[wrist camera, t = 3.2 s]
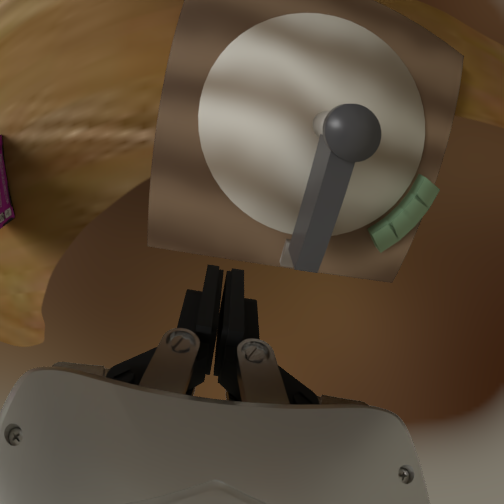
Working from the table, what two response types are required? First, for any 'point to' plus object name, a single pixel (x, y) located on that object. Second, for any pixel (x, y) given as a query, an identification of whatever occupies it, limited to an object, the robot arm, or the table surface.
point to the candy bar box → (4, 193)
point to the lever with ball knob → (331, 178)
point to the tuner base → (297, 129)
